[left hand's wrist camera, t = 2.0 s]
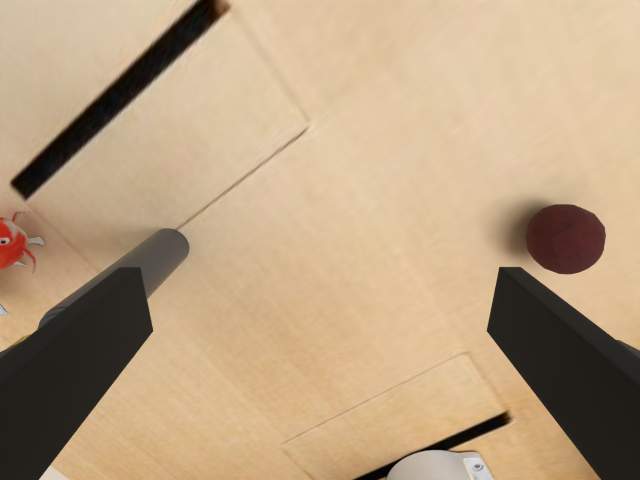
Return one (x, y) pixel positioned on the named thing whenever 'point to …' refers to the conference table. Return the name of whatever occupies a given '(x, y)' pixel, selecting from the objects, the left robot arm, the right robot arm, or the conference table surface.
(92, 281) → the bottle
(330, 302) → the conference table surface
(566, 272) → the dark red ball
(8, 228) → the fish
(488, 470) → the right robot arm
